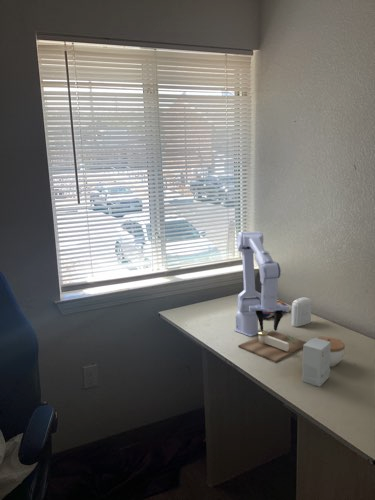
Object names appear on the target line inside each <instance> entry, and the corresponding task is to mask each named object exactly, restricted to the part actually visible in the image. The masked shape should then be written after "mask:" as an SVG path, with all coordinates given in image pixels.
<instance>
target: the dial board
mask: <svg viewBox="0 0 375 500" xmlns="http://www.w3.org/2000/svg"><path fill="white" fill-rule="evenodd" d="M267 332H268V336H271V337H274V338H276V339H279V340H282V341H285V342H287V343H289V350H288V351H284V350H281V349H279V348H276V347H274V346H271V345H268V344H266V343H265V344H261V343H259V336H257V337H254V338H252V339H249V340H247V341H245V342H243V343H241V344H238V345H237V346H238V347H237V348H240V349H241V350H245V351H247V352H249V353H252V354H253V355H254V354H255V355H257V356H259V357H262V358H263V359H266V360H269V361H271V362H272V363H273V362H274V363H277V362H279V361H281V360H283V359H285V358H287V357H289V356H291V355H292V354H294V353H297V352H299V351H300V350H302V349H303V345H304V344H305V343H307V342H308V341H307V342H306V341H305V340H300V339H299V338H296V337H293V336H291V335H288V334H284V333H282V332H278V331H275V330H270V331H267Z"/></svg>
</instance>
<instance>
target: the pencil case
mask: <svg viewBox="0 0 375 500" xmlns="http://www.w3.org/2000/svg"><path fill="white" fill-rule="evenodd" d="M277 305H287V304H286V303H284V302H283V301H280V300H277ZM263 315H264V317H263V319H270V318H272V317H274V312H263Z"/></svg>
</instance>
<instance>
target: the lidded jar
mask: <svg viewBox="0 0 375 500" xmlns="http://www.w3.org/2000/svg"><path fill="white" fill-rule="evenodd" d="M317 338H318V339H322V340H326V341H329V342H331V346H330V365H329V367H335V366H337V365H338V364H339V363H340V362H341V361H342V360H343V357H344V354H345V347H346V345H345V342H343V341H342V340H340V339H338V338H335V337H331V336H320V337H317Z"/></svg>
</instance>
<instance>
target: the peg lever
mask: <svg viewBox="0 0 375 500" xmlns="http://www.w3.org/2000/svg"><path fill="white" fill-rule="evenodd" d="M268 332H269V331H267V330H264V329H263V331H258V334H257V335H258V337H259V343H261V344H265V343H266V344H268V345H271V346H274V347H276V348H279V349H281V350H284V351H288V350H289V343H287V342H285V341H282V340H279V339H276V338H274V337H271V336H268Z"/></svg>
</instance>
